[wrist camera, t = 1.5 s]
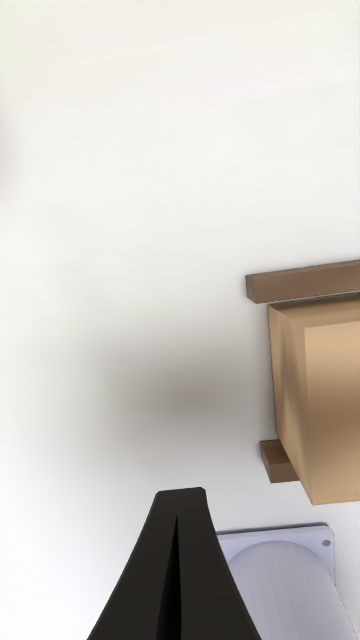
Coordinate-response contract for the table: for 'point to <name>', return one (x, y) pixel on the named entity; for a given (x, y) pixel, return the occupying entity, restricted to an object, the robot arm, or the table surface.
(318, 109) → the table surface
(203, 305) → the table surface
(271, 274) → the bay
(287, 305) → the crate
